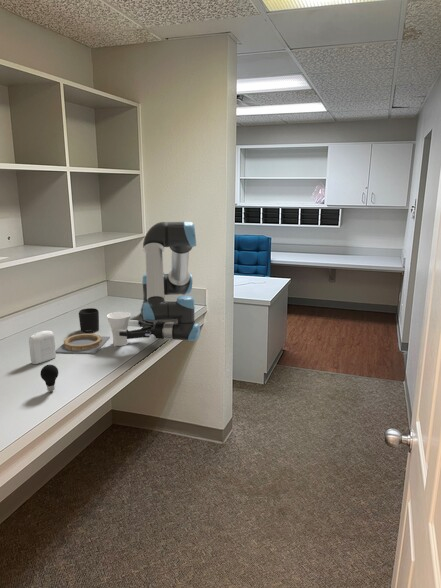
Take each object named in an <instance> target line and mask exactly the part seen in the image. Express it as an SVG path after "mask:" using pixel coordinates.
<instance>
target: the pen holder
mask: <svg viewBox="0 0 441 588" xmlns="http://www.w3.org/2000/svg"><path fill="white" fill-rule="evenodd" d="M99 315H100V314H99V310H98V309H97V308H95V307H94V308H92V307H91V308H83V309H80V310H79V311H78V319H79V327H80V328H79V329H80V331H81V333H82V334H94V333H96V332H99V329H100V316H99Z"/></svg>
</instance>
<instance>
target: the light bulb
mask: <svg viewBox="0 0 441 588" xmlns="http://www.w3.org/2000/svg"><path fill="white" fill-rule="evenodd" d="M58 376H59V369H58V368H57V366H56V365H55V364H46V365H44V366H43V367H41V369H40V377H41V379H42V380H43V381H44V382H45V385H46V388H47V389H46V390H47V391H48V392H50V393H53V391H55V388H56V381H57V379H58Z"/></svg>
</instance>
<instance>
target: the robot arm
mask: <svg viewBox="0 0 441 588" xmlns="http://www.w3.org/2000/svg"><path fill="white" fill-rule="evenodd" d="M195 227H196V226H195V224H194V222H192V221H186V220H185V221H161V222H157V223H156V224H153V225H152V226H151V227H150V228H149V229H148V231H147V232H146V234H145V236H144V239H143V243H142V249H143V251H144V253H145V273H144V274H143V276H142V282H141V284H142V297H143V298H142V303H141V307H140V315H141V316H142V317H143V319H139V320H133V319H129V323H128V327H135V328H136V327H138V328H139V329H133V330H128V329H127V330H116V329H113V333H112V337H113V336H124V337H127V340H133V339H142V338H151V335H153V336H154V337H155V339H161V340H164V339H165V340H170V341H174V340H177V341H178V340H179V341H187V342H191V341H193V342H194V341H196V342H197V341H198V340H199V339H200V337H201V325H200V324H199V323H196V320H195V315H196V314H195V309H196V307H195V299H194V297H193V296H190V295H189V294H190V293H191V292H192V289H193V275H192V273H190V272H189V271H188V269H189V259H190V251H192V249H193V248H194V247H197V240H196V239H197V238H196V228H195ZM165 248H169V249H170V250H171V266H170V267H171V270H170V271H169V272H168V273H165V272H164V262H163V261H164V260H163V259H164V257H163V252H164V251H165ZM172 295H173V296H177V295H178V296H177V298H176V301H166V300H165V298H166V297H165V296H172ZM180 295H181V296H180ZM157 320H158V321H157ZM159 320H176V321H159Z"/></svg>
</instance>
